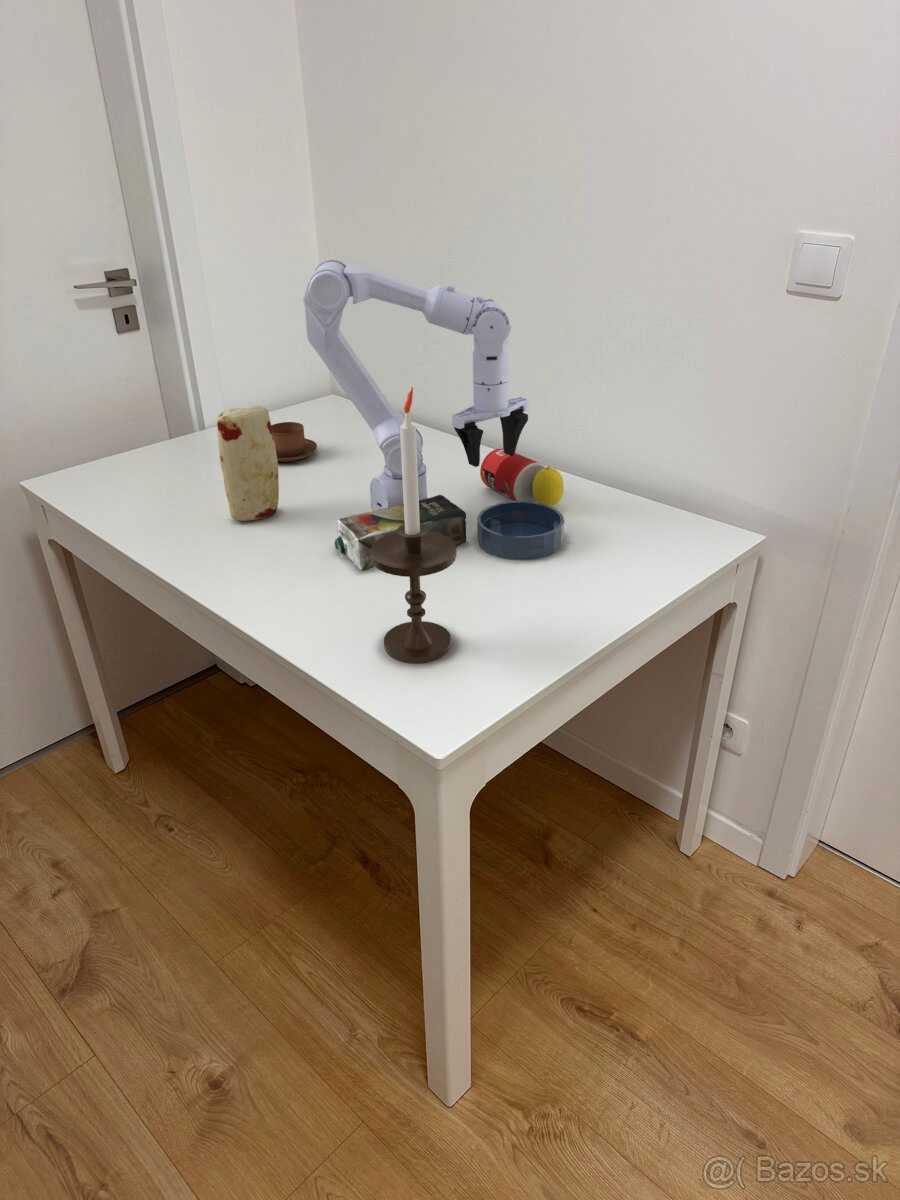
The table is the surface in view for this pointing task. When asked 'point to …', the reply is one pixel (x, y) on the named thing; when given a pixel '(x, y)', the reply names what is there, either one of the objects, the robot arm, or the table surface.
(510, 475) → the canned food
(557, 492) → the lemon
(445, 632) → the candlestick
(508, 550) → the bowl
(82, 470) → the table surface
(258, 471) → the food model
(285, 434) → the cup and saucer
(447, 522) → the juice carton
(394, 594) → the table surface
